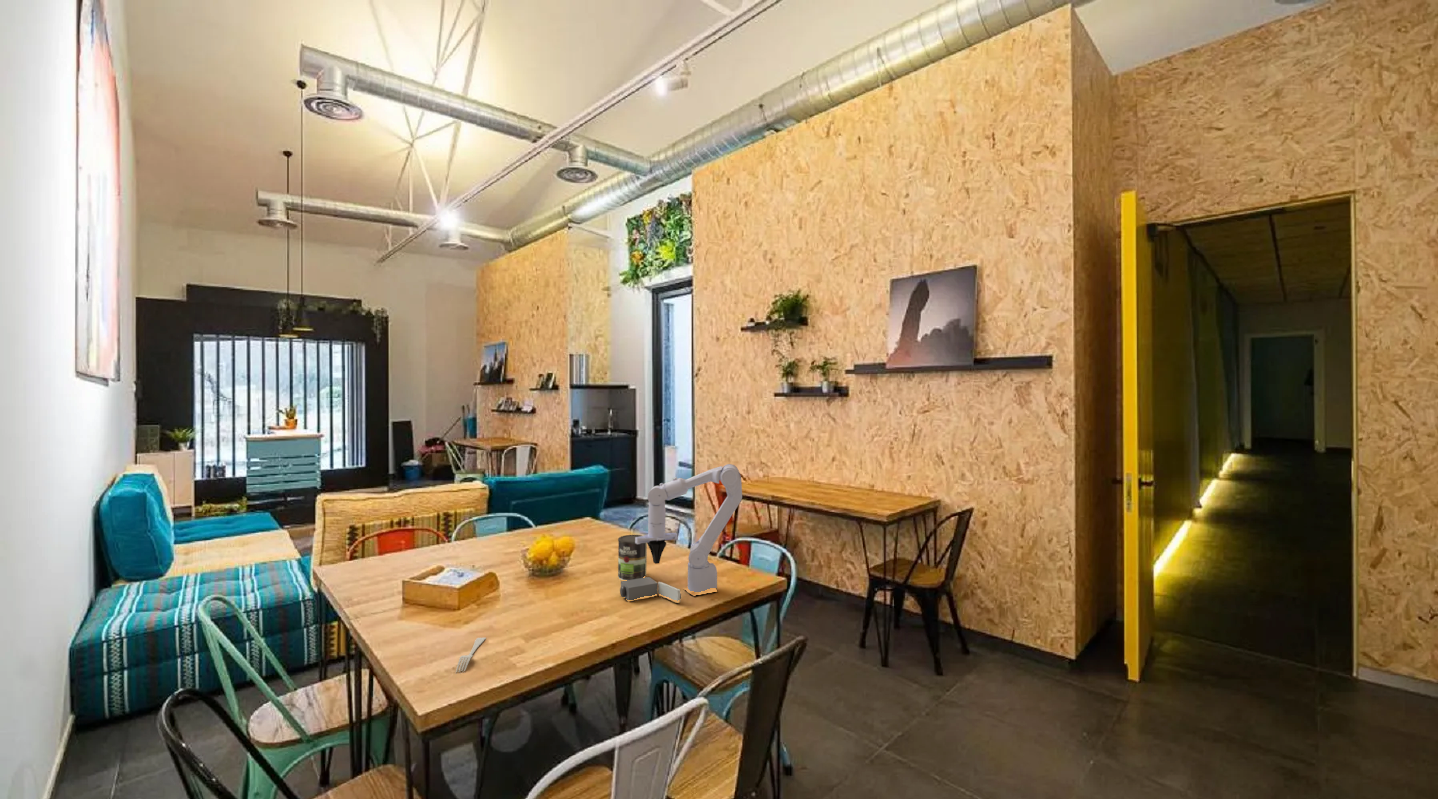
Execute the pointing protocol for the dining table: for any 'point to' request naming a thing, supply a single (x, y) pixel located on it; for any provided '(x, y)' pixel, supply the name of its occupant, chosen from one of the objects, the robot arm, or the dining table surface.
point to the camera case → (638, 588)
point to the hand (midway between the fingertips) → (656, 562)
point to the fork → (476, 645)
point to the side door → (669, 591)
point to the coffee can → (631, 558)
